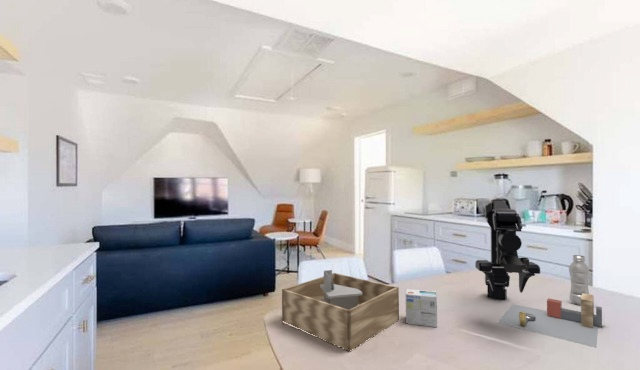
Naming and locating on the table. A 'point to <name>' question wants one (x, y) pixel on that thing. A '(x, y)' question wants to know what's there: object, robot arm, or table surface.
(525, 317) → the metal measuring spoon
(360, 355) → the table surface
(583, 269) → the plastic bottle
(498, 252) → the robot arm
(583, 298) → the tan rectangular block
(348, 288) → the architectural model
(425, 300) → the light bulb box
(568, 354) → the table surface
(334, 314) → the wooden crate
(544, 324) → the board
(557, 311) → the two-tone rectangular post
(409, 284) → the table surface
